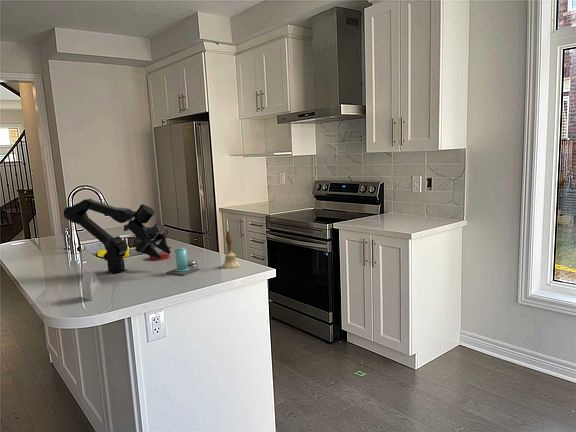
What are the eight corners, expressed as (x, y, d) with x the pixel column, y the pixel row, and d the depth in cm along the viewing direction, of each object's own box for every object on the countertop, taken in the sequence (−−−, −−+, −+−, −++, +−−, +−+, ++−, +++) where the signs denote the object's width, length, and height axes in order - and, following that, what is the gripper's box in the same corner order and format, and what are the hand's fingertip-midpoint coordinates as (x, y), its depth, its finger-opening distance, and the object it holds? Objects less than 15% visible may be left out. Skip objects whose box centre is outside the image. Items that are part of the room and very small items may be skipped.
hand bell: (237, 268, 195) (234, 232, 193) (219, 268, 196) (216, 233, 194) (242, 263, 203) (240, 229, 201) (225, 263, 204) (223, 229, 202)
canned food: (167, 268, 222) (165, 253, 216) (147, 267, 222) (144, 251, 216) (173, 253, 231) (171, 238, 225) (154, 252, 231) (151, 237, 225)
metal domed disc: (191, 268, 200) (191, 263, 200) (180, 267, 203) (180, 262, 203) (200, 264, 206) (200, 260, 205) (190, 263, 209) (189, 259, 208)
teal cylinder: (180, 272, 190) (178, 250, 188) (173, 270, 194) (171, 248, 192) (191, 269, 193) (189, 248, 192) (185, 267, 197) (183, 246, 196)
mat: (183, 275, 187) (183, 273, 187) (166, 273, 192) (165, 272, 192) (199, 269, 196) (199, 268, 196) (181, 268, 200) (181, 266, 200)
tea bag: (91, 300, 159) (88, 273, 158) (82, 297, 163) (79, 271, 162) (101, 297, 162) (98, 271, 161) (92, 295, 166) (89, 268, 165)
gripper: (139, 221, 184) (166, 247, 183) (161, 214, 202) (185, 238, 201) (124, 239, 187) (150, 265, 186) (147, 232, 205) (171, 255, 204)
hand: (165, 255), depth 194 cm, fingers open, 9 cm apart
